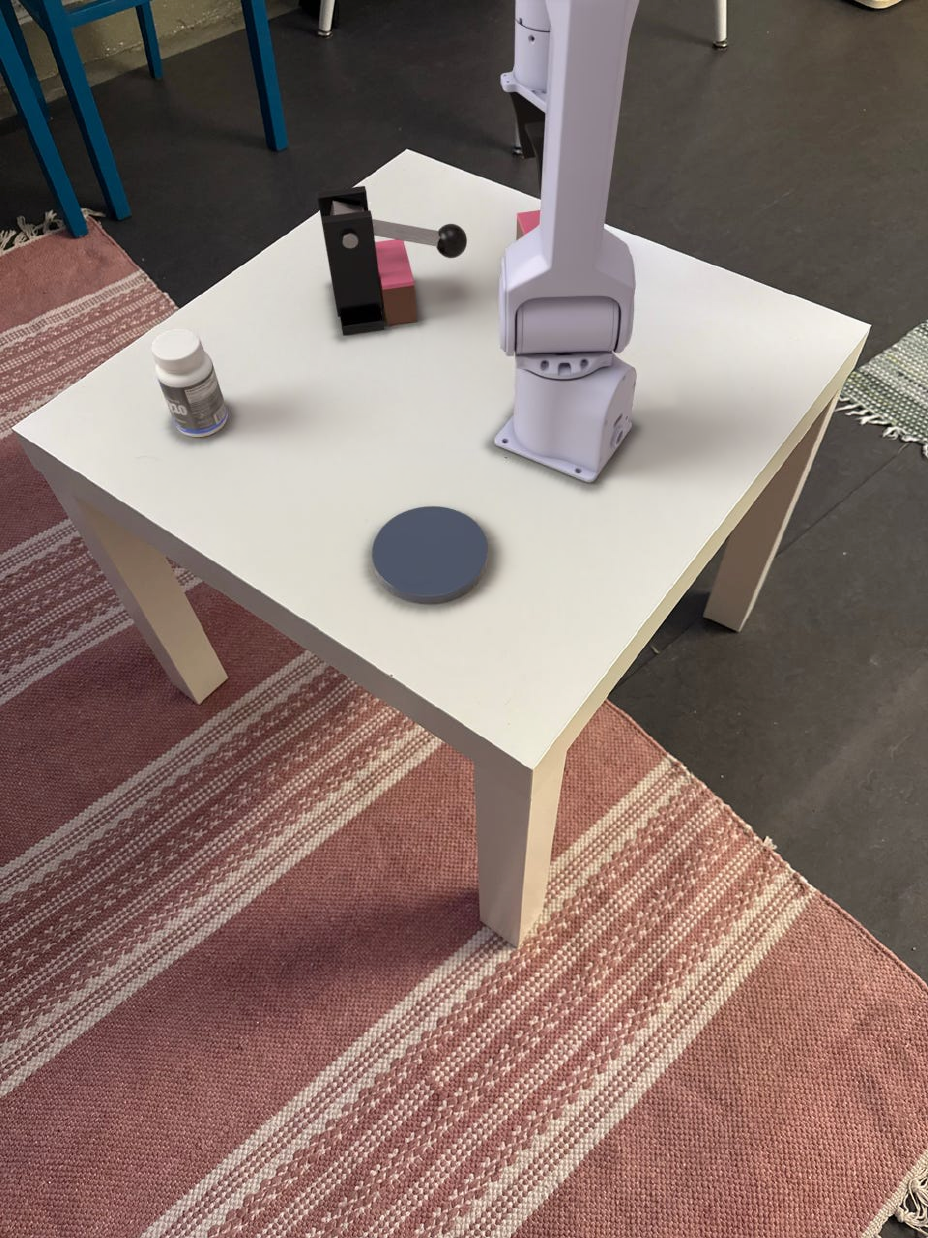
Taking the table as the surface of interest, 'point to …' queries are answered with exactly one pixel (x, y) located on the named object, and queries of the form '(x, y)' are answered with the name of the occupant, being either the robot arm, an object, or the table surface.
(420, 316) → the table surface
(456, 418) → the table surface
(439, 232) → the lever
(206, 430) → the pill bottle
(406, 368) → the table surface
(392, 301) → the loaf cake
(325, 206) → the bracket
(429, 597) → the plate
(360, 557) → the table surface
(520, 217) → the cake slice
